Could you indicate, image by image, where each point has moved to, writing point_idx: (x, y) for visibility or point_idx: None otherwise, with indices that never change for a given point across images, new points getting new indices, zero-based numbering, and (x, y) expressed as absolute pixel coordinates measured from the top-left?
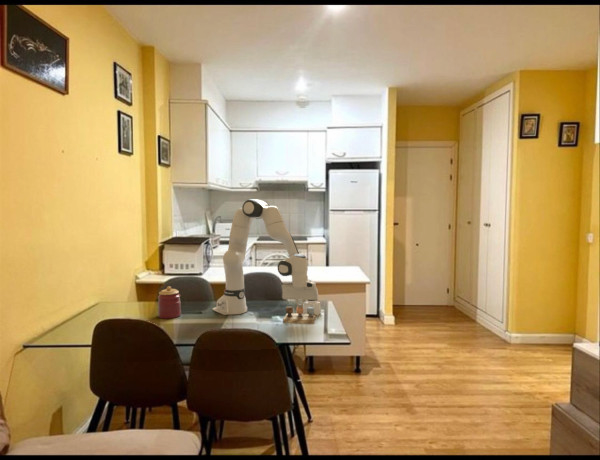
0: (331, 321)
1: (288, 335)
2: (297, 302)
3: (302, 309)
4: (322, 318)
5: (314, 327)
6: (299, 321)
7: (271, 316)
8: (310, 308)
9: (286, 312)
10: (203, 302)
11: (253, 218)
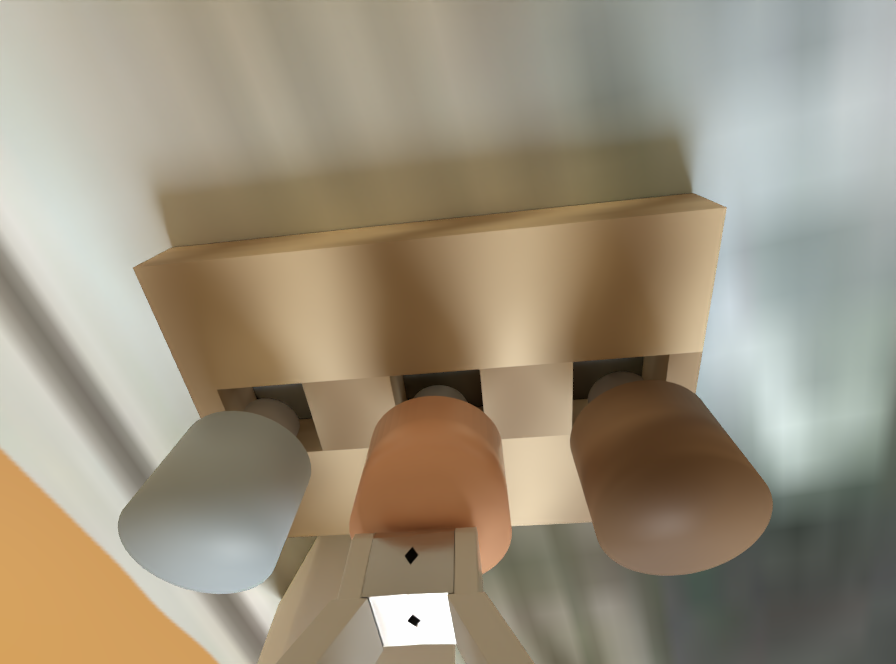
0: (6, 397)
1: None
2: (480, 650)
3: (360, 482)
4: None
5: (34, 22)
6: (394, 229)
7: (893, 440)
8: (178, 518)
9: (702, 402)
10: None
11: None
